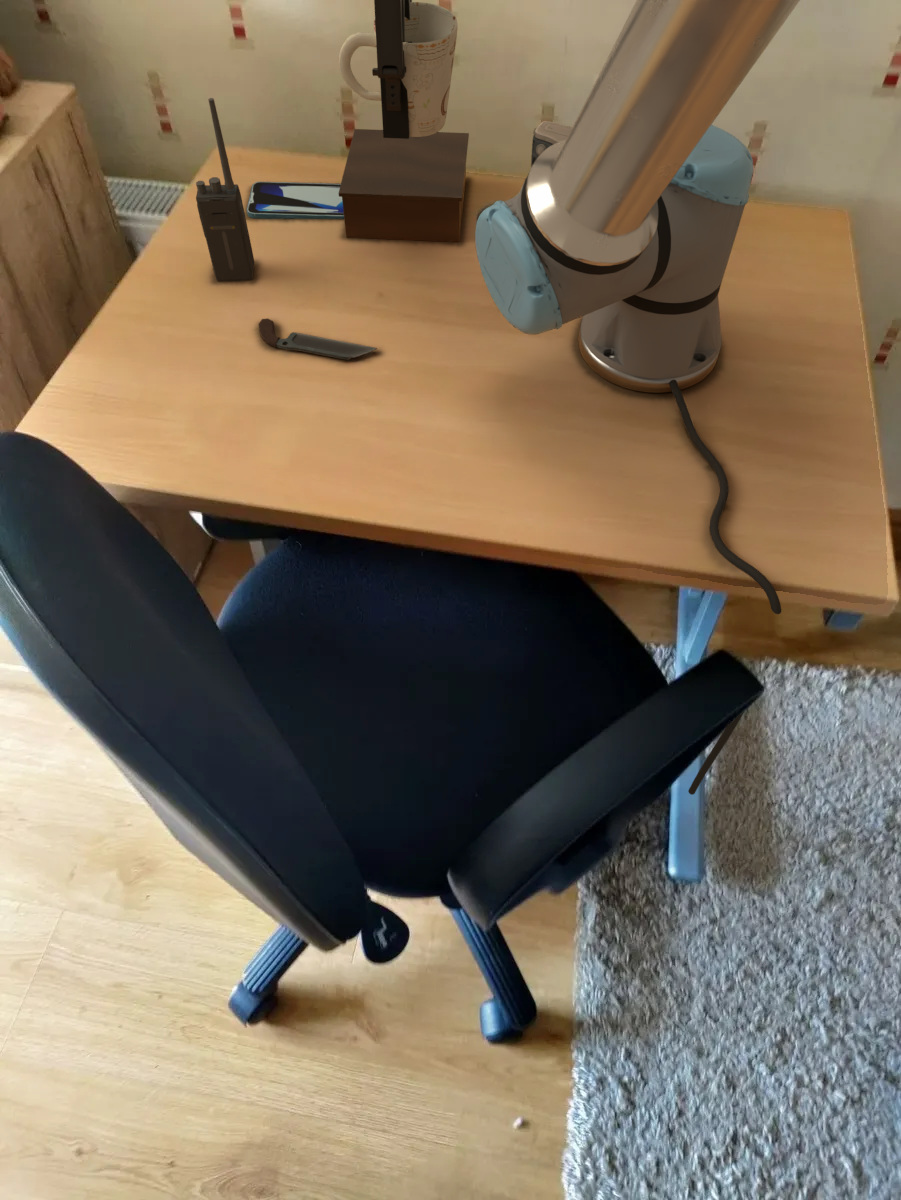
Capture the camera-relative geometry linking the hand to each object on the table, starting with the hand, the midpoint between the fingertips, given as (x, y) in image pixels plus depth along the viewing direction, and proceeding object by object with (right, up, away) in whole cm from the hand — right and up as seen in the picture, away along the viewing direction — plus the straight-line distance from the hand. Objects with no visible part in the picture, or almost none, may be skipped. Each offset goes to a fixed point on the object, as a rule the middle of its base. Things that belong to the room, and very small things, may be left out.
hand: (399, 119), depth 96 cm
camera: (+21, -3, +17) cm, 27 cm away
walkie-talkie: (-20, -13, +10) cm, 26 cm away
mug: (0, 0, 0) cm, 0 cm away
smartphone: (-13, -1, +18) cm, 22 cm away
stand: (0, -2, +17) cm, 17 cm away
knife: (-9, -24, +2) cm, 26 cm away
